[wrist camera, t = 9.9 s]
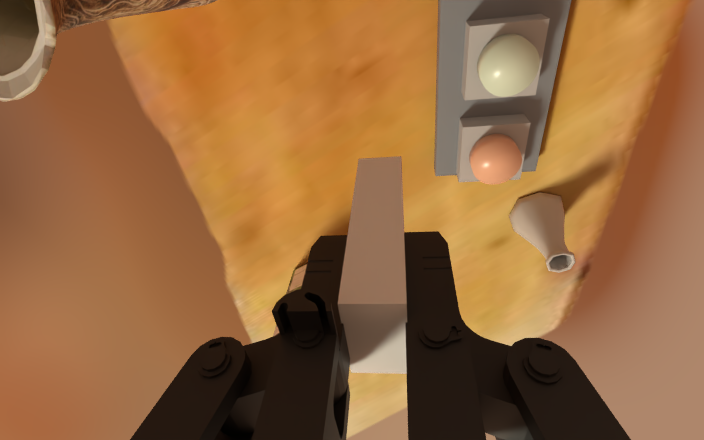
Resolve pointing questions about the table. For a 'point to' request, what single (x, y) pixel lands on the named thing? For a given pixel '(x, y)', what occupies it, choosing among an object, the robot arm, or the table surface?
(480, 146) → the button terracotta
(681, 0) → the table surface
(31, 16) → the vase
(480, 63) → the button sage
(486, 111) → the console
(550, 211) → the flask
